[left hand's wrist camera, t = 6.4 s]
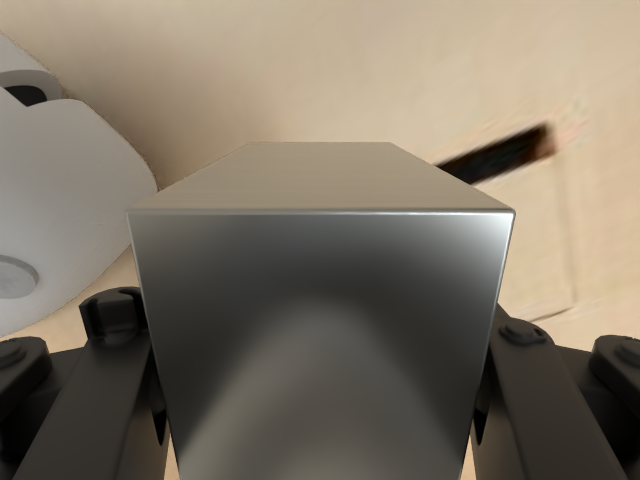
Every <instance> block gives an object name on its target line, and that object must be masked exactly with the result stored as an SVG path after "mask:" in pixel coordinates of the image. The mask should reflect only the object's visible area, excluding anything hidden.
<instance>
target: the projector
mask: <svg viewBox="0 0 640 480" xmlns="http://www.w3.org/2000/svg"><path fill="white" fill-rule="evenodd" d="M61 97H62V89H61V86H60V83H59V81H58V80H57V78H56V77H55V76H54V75H53V74H51V73H50V72H49V71H48V70H47V69H46V68H45V67H43V66H42V65H41V64H40V63H39V62H38V61H36V60H35V59H34V58H33V57H32V56H30V55H29V54H28V53H27V52H26V51H24V50H23V49H22V48H21V47H20V46H18V45H17V44H16V43H14V42H13V41H12V40H11V39H9V38H8V37H7V36H5V35H4V34H3V33H1V32H0V338H1V337H3V336H6V335H9V334H12V333H14V332H17V331H19V330H22V329H24V328H26V327H28V326H30V325H32V324H35V323H36V322H38V321H40V320H42V319H44V318H46V317H47V316H49V315H50V314H52V313H54V312H55V311H57V310H58V309H60V308H61V307H63V306H64V305H65V304H67V303H68V302H70V301H71V300H72V299H73V298H75V297H76V296H77V295H79V294H80V293H81V292H82V291H84V290H85V289H86V288H87V287H88V286H89V285H90V284H91V283H93V282H94V281H95V280H96V279H97V278H98V277H99V276H100V275H101V274H103V273H104V272H105V271H106V270H107V269H108V268H109V267H110V266H111V265H112V264H113V263H114V262H115V261H116V259H117V258H118V257H119V256H120V255H121V254H122V253H123V252H124V251H125V250H126V249H127V247H128V246H129V245H130V244H131V241H130V236H129V232H128V227H127V222H126V217H125V211H126V209H128V208H130V207H131V206H133V205H135V204H137V203H139V202H141V201H142V200H144V199H146V198H148V197H150V196H152V195H154V194H155V193H157V192H158V190H157V185H156V182H155V179H154V177H153V175H152V173H151V171H150V169H149V167H148V165H147V164H146V163H145V161H144V160H143V159H142V157H141V156H140V155H139V154H138V153H137V152H136V151H135V149H134V148H133V147H132V146H131V145H130V144H129V143H128V142H127V141H126V140H125V139H124V138H123V137H122V136H121V135H120V134H119V133H118V132H117V131H116V130H114V129H113V128H112V127H111V126H110V125H109V124H108V123H107V122H106V121H105V120H104V119H103V118H101V117H100V116H99V115H98V114H97V113H96V112H95V111H94V110H92V109H91V108H90V107H89V106H88V105H87V104H86V103H84V102H82V101H79V100H74V99H61Z"/></svg>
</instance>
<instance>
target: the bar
mask: <svg viewBox="0 0 640 480" xmlns="http://www.w3.org/2000/svg"><path fill="white" fill-rule="evenodd" d="M515 215H516V214H515V210H514V209H513V208H511V207H509V206H507V205H505V204H504V203H502V202H500V201H498V200H496V199H494V198H492V197H491V196H489V195H487V194H485V193H483V192H481V191H479V190H478V189H476V188H474V187H472V186H470V185H468V184H466V183H465V182H463V181H461V180H459V179H457V178H455V177H454V176H452V175H450V174H448V173H446V172H444V171H442V170H441V169H439V168H437V167H435V166H433V165H431V164H429V163H428V162H426V161H424V160H422V159H420V158H418V157H416V156H415V155H413V154H411V153H409V152H407V151H405V150H403V149H402V148H400V147H398V146H396V145H394V144H392V143H390V142H250V143H248V144H246V145H244V146H242V147H240V148H239V149H237V150H235V151H233V152H231V153H229V154H228V155H226V156H224V157H222V158H220V159H218V160H216V161H215V162H213V163H211V164H209V165H207V166H205V167H203V168H202V169H200V170H198V171H196V172H194V173H192V174H191V175H189V176H187V177H185V178H183V179H181V180H179V181H178V182H176V183H174V184H172V185H170V186H168V187H167V188H165V189H163V190H161V191H159V192H157V193H155V194H154V195H152V196H150V197H148V198H146V199H144V200H142V201H141V202H139V203H137V204H135V205H133V206H131V207H130V208H128V209H126V211H125V217H126V222H127V227H128V232H129V236H130V241H131V246H132V251H133V256H134V260H135V265H136V270H137V275H138V280H139V284H140V289H141V294H142V299H143V304H144V308H145V313H146V318H147V323H148V328H149V332H150V337H151V342H152V347H153V352H154V356H155V361H156V366H157V371H158V376H159V380H160V385H161V390H162V395H163V399H164V404H165V409H166V414H167V419H168V423H169V428H170V433H171V438H172V443H173V447H174V452H175V457H176V462H177V467H178V471H179V476H180V480H460V478H461V473H462V469H463V464H464V459H465V454H466V449H467V445H468V440H469V435H470V430H471V426H472V421H473V416H474V411H475V407H476V402H477V397H478V392H479V387H480V383H481V378H482V373H483V368H484V364H485V359H486V354H487V349H488V344H489V340H490V335H491V330H492V325H493V321H494V316H495V311H496V306H497V301H498V297H499V292H500V287H501V282H502V278H503V273H504V268H505V263H506V258H507V254H508V249H509V244H510V239H511V235H512V230H513V225H514V220H515Z"/></svg>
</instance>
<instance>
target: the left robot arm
mask: <svg viewBox="0 0 640 480" xmlns="http://www.w3.org/2000/svg"><path fill="white" fill-rule="evenodd" d="M79 309H80V313H81V316H82V320H83V323H84V327H85V330H86V334H87V337H88V340H87V342H86V344H85V346H84V347H81V348H76V349H71V350H66V351H61V352H55V353H50V354H49V351H48V348H47V345H46V342H45V341H44V340H43V339H41V338H39V337H31V336H29V337H20V338H12V339H9V340H5V341H1V342H0V480H164V474H165V467H166V459H167V452H168V445H169V437H170V428H169V423H168V419H167V414H166V409H165V404H164V399H163V395H162V390H161V385H160V380H159V376H158V371H157V366H156V361H155V356H154V352H153V347H152V342H151V337H150V332H149V328H148V323H147V318H146V313H145V308H144V304H143V299H142V294H141V289H140V288H138V287H119V288H114V289H108V290H106V291H103V292H100V293H97V294H95V295H93V296H91V297H89V298H87V299H86V300H84V301H83V302H82V303H81V304H80V305H79ZM470 436H471V444H472V451H473V458H474V466H475V473H476V480H640V340H639V339H635V338H634V339H633V338H632V337H627V336H617V335H605V336H600V337H599V338H597V339H596V340H595V343H594V346H593V349H592V352H588V351H583V350H578V349H572V348H567V347H562V346H558V345H555V343H554V341H553V340H552V338H551V337H550V336H549V335H548V334H547V332H546V331H544V330H543V329H541V328H540V327H538V326H536V325H534V324H532V323H529V322H527V321H525V320H521V319H516V318H512V317H510V316H509V315H508V314H507V313H506V312H505V311H504V309H503V308H502V307H501V306H500V305H499V304H498V303H497V306H496V311H495V316H494V321H493V325H492V330H491V335H490V340H489V344H488V349H487V354H486V359H485V364H484V368H483V373H482V378H481V383H480V387H479V392H478V397H477V402H476V407H475V411H474V416H473V421H472V426H471V430H470Z"/></svg>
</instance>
